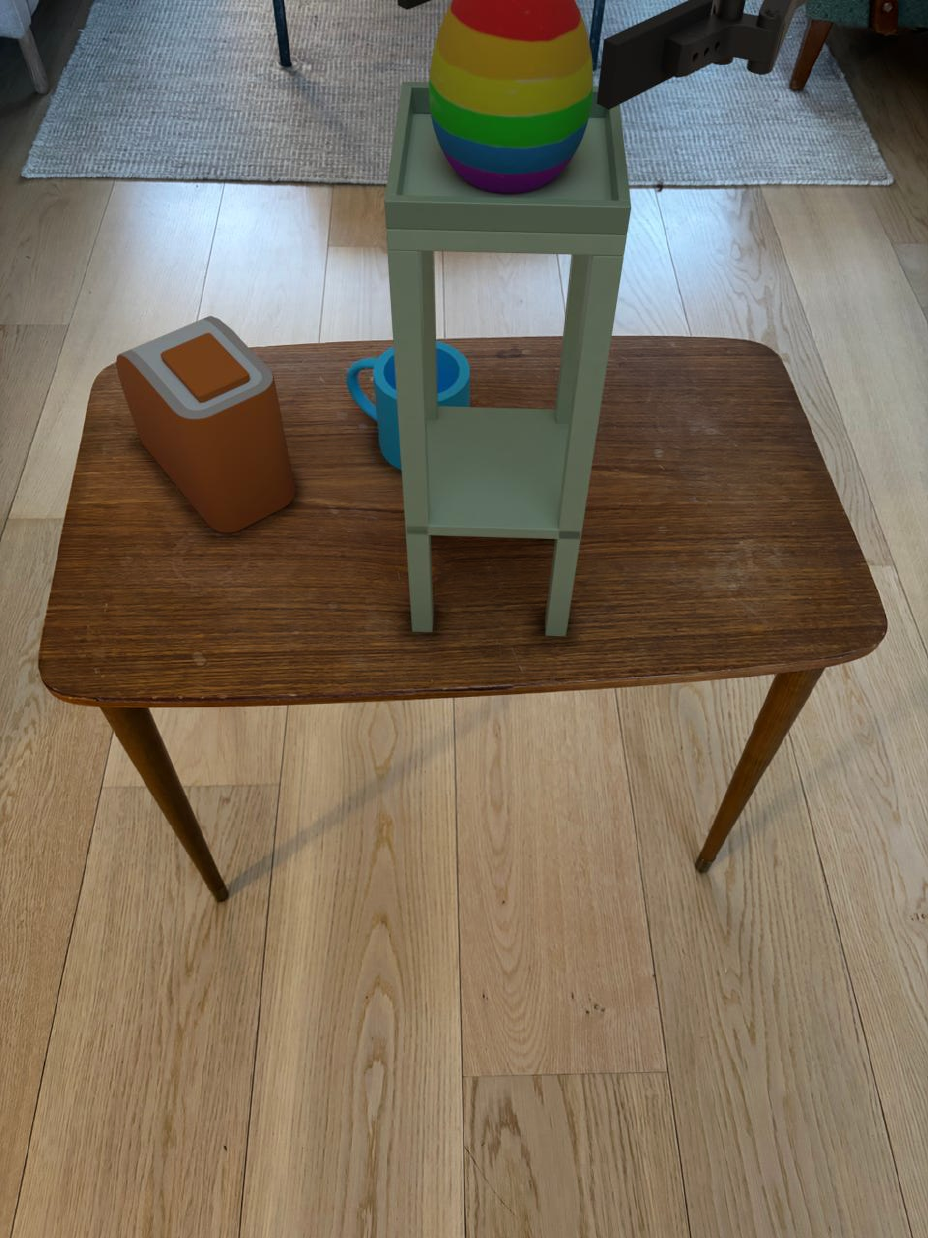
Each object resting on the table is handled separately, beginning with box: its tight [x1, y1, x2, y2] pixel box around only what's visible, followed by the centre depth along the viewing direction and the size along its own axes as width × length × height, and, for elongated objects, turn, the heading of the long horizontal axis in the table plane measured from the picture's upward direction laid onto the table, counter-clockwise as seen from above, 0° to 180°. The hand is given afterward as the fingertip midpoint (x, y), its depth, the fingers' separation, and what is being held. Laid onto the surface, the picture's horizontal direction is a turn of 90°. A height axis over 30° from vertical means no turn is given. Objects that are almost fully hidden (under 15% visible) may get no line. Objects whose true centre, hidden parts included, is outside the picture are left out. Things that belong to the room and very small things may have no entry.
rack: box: [383, 81, 632, 637], centre depth 66 cm, size 12×12×36 cm
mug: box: [345, 340, 471, 471], centre depth 87 cm, size 12×8×8 cm
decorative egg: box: [428, 0, 594, 194], centre depth 48 cm, size 8×8×10 cm
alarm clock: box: [115, 315, 296, 534], centre depth 82 cm, size 15×8×14 cm, turn 37°
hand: (496, 23), depth 46 cm, fingers open, 13 cm apart
